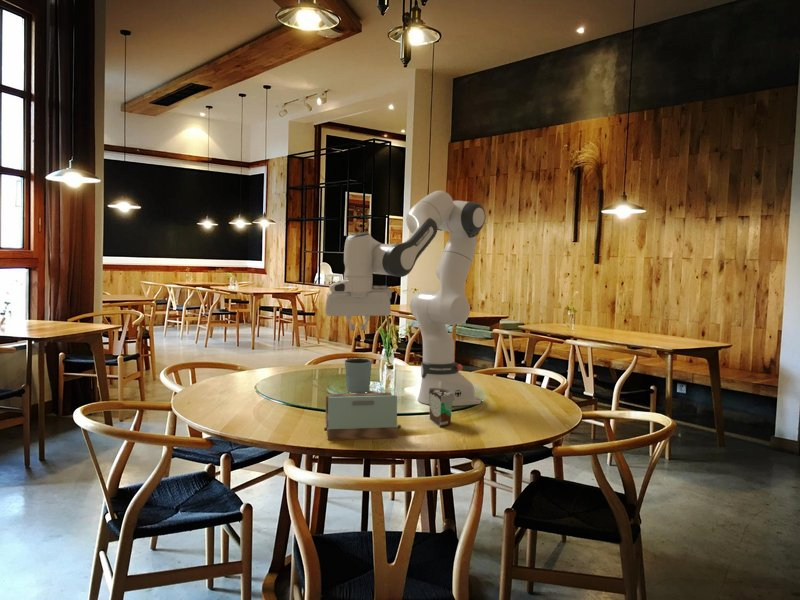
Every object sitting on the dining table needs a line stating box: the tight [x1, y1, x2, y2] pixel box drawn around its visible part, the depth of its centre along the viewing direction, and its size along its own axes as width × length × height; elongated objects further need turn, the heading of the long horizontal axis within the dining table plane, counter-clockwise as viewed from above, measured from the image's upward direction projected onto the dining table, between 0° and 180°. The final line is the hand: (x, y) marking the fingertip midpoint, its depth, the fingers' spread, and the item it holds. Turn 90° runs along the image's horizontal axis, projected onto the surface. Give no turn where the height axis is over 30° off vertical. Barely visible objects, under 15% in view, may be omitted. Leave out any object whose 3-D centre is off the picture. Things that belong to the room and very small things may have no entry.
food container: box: [429, 388, 455, 428], centre depth 206 cm, size 12×6×10 cm, turn 17°
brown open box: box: [323, 392, 402, 440], centre depth 194 cm, size 22×14×10 cm, turn 99°
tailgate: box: [328, 394, 398, 429], centre depth 188 cm, size 20×2×9 cm, turn 99°
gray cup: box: [344, 357, 373, 393], centre depth 246 cm, size 10×10×12 cm
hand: (357, 330), depth 203 cm, fingers open, 2 cm apart
